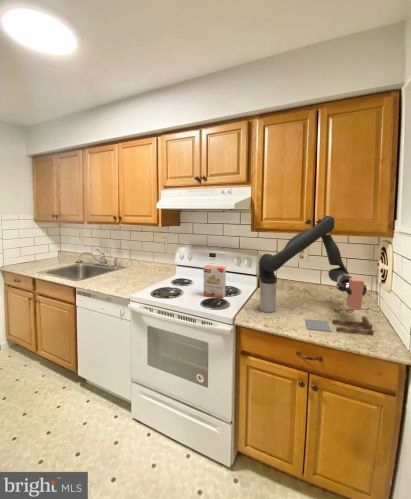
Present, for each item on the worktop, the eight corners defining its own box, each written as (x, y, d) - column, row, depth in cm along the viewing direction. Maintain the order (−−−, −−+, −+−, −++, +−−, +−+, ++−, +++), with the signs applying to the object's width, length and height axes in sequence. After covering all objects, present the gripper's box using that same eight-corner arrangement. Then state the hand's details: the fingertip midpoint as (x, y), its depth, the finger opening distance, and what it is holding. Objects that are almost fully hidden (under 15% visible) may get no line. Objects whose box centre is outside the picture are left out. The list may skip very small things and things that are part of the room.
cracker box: (203, 296, 174) (203, 266, 170) (206, 293, 179) (206, 264, 175) (223, 299, 169) (223, 268, 165) (225, 295, 174) (225, 266, 170)
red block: (349, 308, 124) (352, 280, 122) (346, 304, 129) (349, 277, 126) (361, 309, 123) (364, 281, 121) (357, 305, 128) (360, 278, 125)
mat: (307, 329, 128) (307, 328, 128) (304, 319, 138) (304, 319, 138) (331, 331, 125) (331, 331, 125) (326, 321, 136) (326, 320, 136)
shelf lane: (336, 331, 126) (337, 322, 125) (331, 322, 135) (332, 313, 134) (373, 335, 122) (374, 325, 121) (365, 325, 131) (366, 316, 130)
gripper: (332, 274, 139) (341, 284, 123) (361, 276, 136) (375, 286, 120) (331, 287, 141) (340, 299, 124) (360, 289, 137) (373, 301, 121)
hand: (357, 293), depth 122 cm, fingers closed on red block, 5 cm apart
